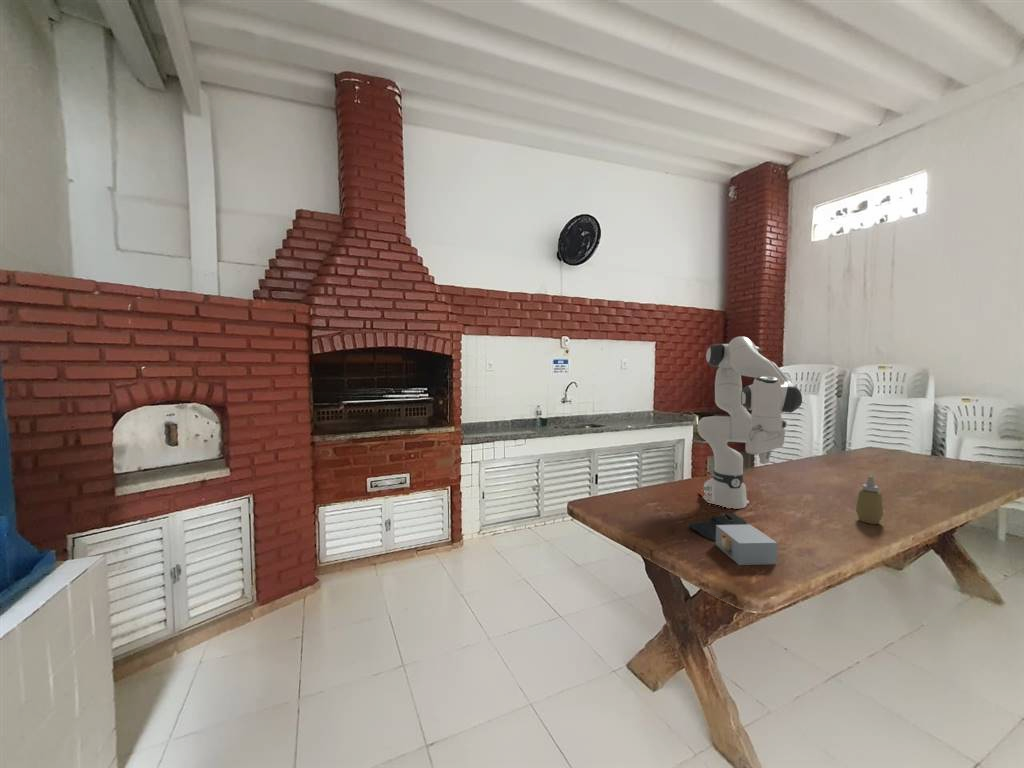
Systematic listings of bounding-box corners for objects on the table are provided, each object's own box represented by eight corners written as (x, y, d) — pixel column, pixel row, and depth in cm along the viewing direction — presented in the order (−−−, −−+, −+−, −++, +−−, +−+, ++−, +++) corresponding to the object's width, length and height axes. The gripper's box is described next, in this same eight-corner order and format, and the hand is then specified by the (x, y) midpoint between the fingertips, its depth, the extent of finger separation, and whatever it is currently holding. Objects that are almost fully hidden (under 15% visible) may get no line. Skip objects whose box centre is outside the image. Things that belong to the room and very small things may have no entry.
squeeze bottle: (850, 519, 162) (852, 475, 161) (862, 516, 165) (864, 472, 164) (875, 527, 154) (877, 480, 153) (887, 523, 157) (889, 478, 156)
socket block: (715, 544, 141) (716, 525, 141) (749, 543, 142) (750, 524, 141) (738, 564, 127) (739, 543, 127) (776, 564, 128) (777, 542, 127)
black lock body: (681, 527, 157) (681, 515, 157) (723, 519, 165) (723, 507, 164) (714, 544, 143) (714, 531, 142) (758, 534, 151) (758, 521, 150)
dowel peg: (721, 547, 136) (721, 535, 136) (756, 546, 136) (756, 534, 136) (728, 552, 132) (728, 540, 132) (764, 552, 132) (764, 540, 132)
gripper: (760, 428, 131) (759, 470, 132) (789, 421, 143) (787, 460, 144) (740, 425, 137) (739, 466, 138) (769, 419, 148) (768, 456, 149)
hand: (764, 463), depth 141 cm, fingers closed
